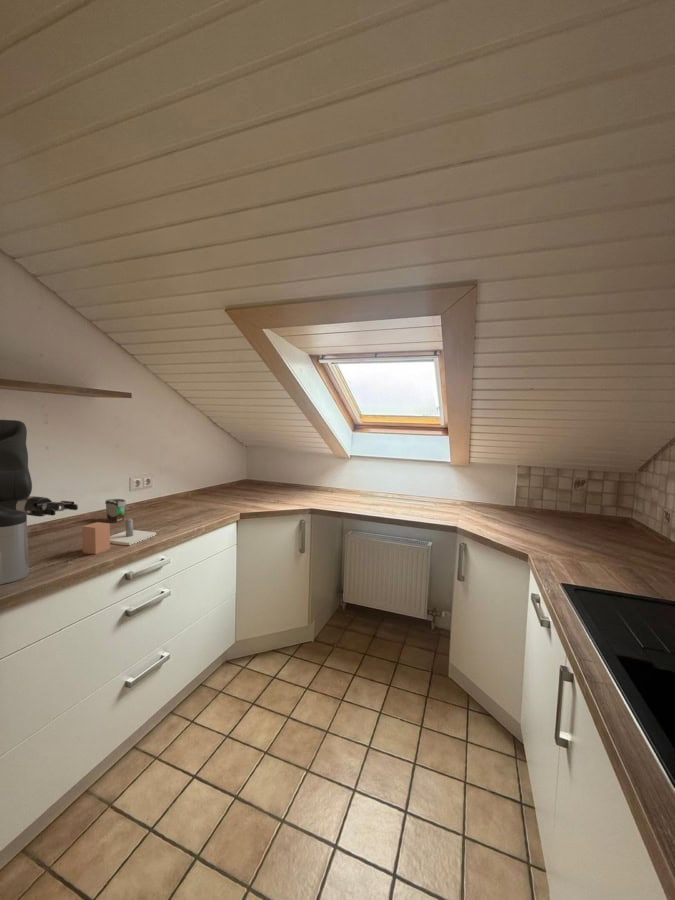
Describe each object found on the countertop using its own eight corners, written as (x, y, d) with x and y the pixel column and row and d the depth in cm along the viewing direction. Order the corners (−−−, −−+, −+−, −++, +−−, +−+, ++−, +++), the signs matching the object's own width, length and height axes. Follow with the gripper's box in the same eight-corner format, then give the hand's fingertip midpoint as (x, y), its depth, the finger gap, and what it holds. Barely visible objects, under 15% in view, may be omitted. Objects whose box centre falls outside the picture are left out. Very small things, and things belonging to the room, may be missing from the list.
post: (129, 545, 136) (129, 524, 135) (101, 542, 139) (100, 521, 138) (156, 535, 149) (155, 516, 149) (129, 532, 152) (129, 513, 152)
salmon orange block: (95, 554, 126) (95, 527, 125) (82, 552, 127) (82, 526, 127) (110, 548, 132) (109, 523, 131) (97, 547, 133) (97, 522, 132)
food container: (131, 520, 171) (131, 500, 170) (118, 523, 165) (118, 503, 165) (118, 516, 177) (118, 497, 176) (105, 519, 172) (105, 499, 171)
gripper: (13, 500, 129) (46, 504, 125) (52, 493, 143) (83, 496, 139) (14, 519, 129) (46, 524, 126) (53, 511, 143) (83, 514, 139)
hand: (66, 509), depth 132 cm, fingers open, 8 cm apart
